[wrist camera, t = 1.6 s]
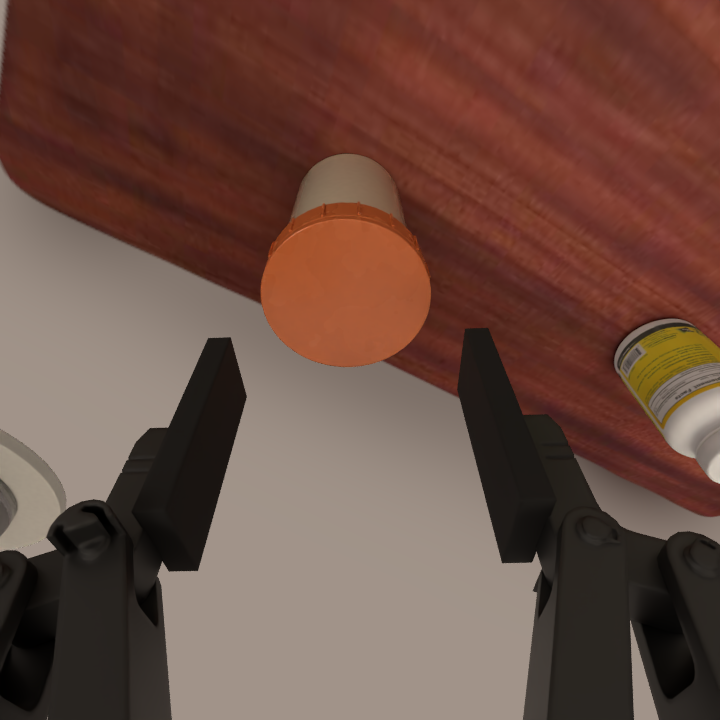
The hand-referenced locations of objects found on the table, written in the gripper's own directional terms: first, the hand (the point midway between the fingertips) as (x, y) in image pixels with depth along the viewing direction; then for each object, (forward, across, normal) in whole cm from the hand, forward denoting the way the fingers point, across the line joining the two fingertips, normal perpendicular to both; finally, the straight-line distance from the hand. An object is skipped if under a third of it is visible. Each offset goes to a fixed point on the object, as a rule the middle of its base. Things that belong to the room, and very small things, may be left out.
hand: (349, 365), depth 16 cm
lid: (+5, 0, 0) cm, 5 cm away
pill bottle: (+16, +23, -12) cm, 30 cm away
